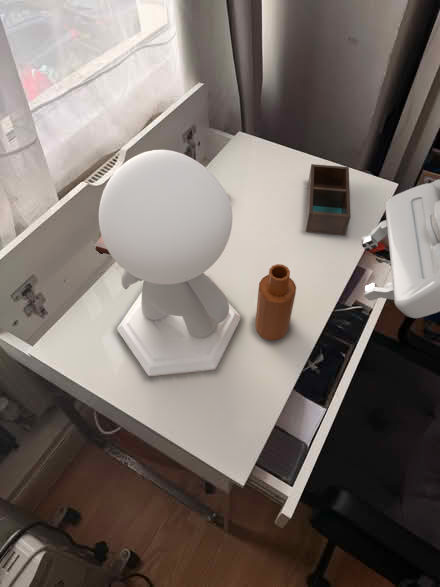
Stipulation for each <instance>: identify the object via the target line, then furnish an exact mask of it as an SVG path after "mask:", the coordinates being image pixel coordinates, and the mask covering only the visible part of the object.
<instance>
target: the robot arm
mask: <svg viewBox="0 0 440 587" xmlns="http://www.w3.org/2000/svg"><path fill="white" fill-rule="evenodd" d="M384 207H385V217H386V219H385V220H382V221H380V222H379V223H378V224H377V225H376V226H375V228H373V230H372V231H371V232H370V233H369V234H366V235H363V236H362V237H361V246H362V248H363V249H364V250H365V251H372V249H376V248H378V247H379V246H378V243H379V242H381V241H382V240H383V239H384V238H385V237H388V238H387V239H388V247H389V248H388V249H389V259H390V269H391V277H392V278H391V279H392V280H391V282H388V283H386V284H385V287H379V286H378V284H377V283H375V282H372V283H369V284H367V285H364V287H363V294H364V296H363V297H365V298H366V299H367V300H368V301H375V300H378V299H380V298H381V299H386V300H392V301H394V305H395V307H396V308H397V309H398V310H399V311H400V312H401V313H402V314H404V315H405V316H406V317H408V318H412V319H420V318H425V317H428V316H431V315H433V314H437V313H440V178H439V179H435V180H434V181H432V182H429V183H427V182H426V183H423V184H420V185H416V186H414V187H411V188H409V189H406V190H403V191H402V192H399V193H396V194H395V195H393V196H391V197H390V198H389V199H388V200H387V201H386V203H385V205H384Z"/></svg>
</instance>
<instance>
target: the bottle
mask: <svg viewBox="0 0 440 587" xmlns="http://www.w3.org/2000/svg"><path fill="white" fill-rule="evenodd" d="M258 283H259V284H258V290H257V302H256V312H255V313H256V314H255V324H254V325H255V330H256V333H257V334H258V336H260V337H261V338H263V339H265V340H268V341H277V340H281V339H282V338H284V337H285V336H286V335H287V333H288V330H289V327H290V322H291V317H292V312H293V308H294V303H295V298H296V293H297V286H296V283H295V281H294V280H293V279H292V278H291V271H290V269H289V267H287V265H284V264H281V263H280V264H279V263H277V264H273V265H271V267H270V268H269V269H268V274H267V275H264V277H262V278H261V279H260V281H259V282H258Z"/></svg>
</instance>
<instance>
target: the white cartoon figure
mask: <svg viewBox="0 0 440 587" xmlns="http://www.w3.org/2000/svg"><path fill="white" fill-rule="evenodd" d="M98 225H99V231H100V236H101V235H102V238H103V241H104V243H105V246H106V248H107V250H108V251H109V253H110V254H111V255H110V256H111V257H112V259H113V260H114V261H115V262H116V264H118V266H120V267H121V268H122V273H121V275H120V276H121V277H120V282H121V286H122V288H123V289H124V290H128V288H129V287H130V286H131V285H134V284H136V283H137V282H142V281H143V283H142V289H141V292H140V294H139V296H138V297H137V298H136V300H135V301H134V303H133V304H132V305H131V307H130V308H129V310H128V312H127V313H126V314H125V316H124V317H123V319H122V320H121V322H120V323H119V325H118V326H117V328H116V330H117V332H118V333H119V335H120V337H122V339H123V341H124V342H125V344H126V345H127V347H128V349H130V351H131V353H132V354H133V355H134V357H135V358H136V360H137V361H138V363H139V364H140V366H141V368H142V369H143V370H144V371H145V373H146V374H147V377H157V376H158V377H159V376H168V375H179V374H189V373H198V372H206V371H207V372H209V371H216V369H217V367H218V366H219V363H220V361H221V360H222V357H223V355H224V354H225V352H226V350H227V348H228V345H229V343H230V341H231V340H232V337H233V335H234V333H235V331H236V329H237V327H238V325H239V323H240V321H241V319H242V316H241V315H240V314H239V313H238V312H237V311H236V309H235V307H233V306H232V305H231V304H230V302H229V301H228V298H227V297H226V295H225V294H224V292H223V290H221V289H220V287H219V286H218V285H217V284H216V283H215V282H214V281H213V280H212V279H211V278H210V277H209V276H208V275H207V274H206V273H205V272H206V271H208V270H209V269H210V268H211V267H213V265H214V264H215V263H216V262H217V261H218V260H219V259H220V257H221V255H222V254H223V253H224V251H225V249H226V247H227V245H228V242H229V240H230V236H231V232H232V228H233V209H232V204H231V201H230V198H229V194H227V192H226V189H225V188H224V186H223V185H222V183H221V182H220V181H219V180H218V178H217V177H216V176H215V175H214V173H213V172H211V171H210V170H209V169H208V168H207V167H205V166H204V165H203V164H201V163H200V162H199V161H197V160H195V159H194V158H192V157H190V156H188V155H186V154H184V153H181V152H178V151H175V150H168V149H153V150H148V151H144V152H141V153H139V154H136V155H135V156H133V157H131V158H130V159H128V160H127V161H125V162H124V163H122V165H120V166H119V167H118V168H117V169H116V170H115V171H114V173H113V174H112V176H110V178H109V180H108V181H107V183H106V185H105V186H104V188H103V191H102V193H101V198H100V201H99V208H98Z"/></svg>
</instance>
